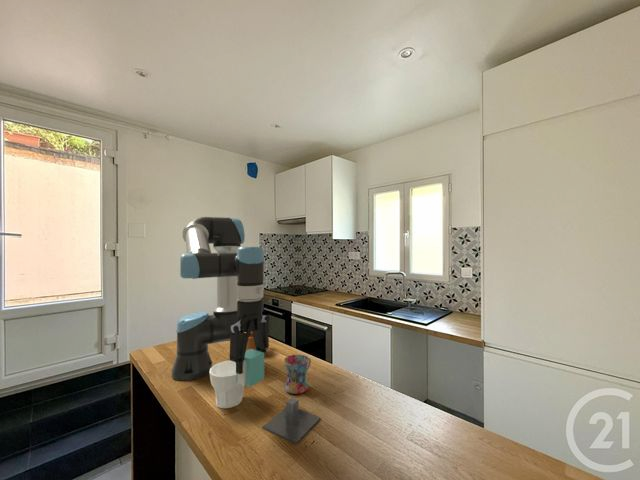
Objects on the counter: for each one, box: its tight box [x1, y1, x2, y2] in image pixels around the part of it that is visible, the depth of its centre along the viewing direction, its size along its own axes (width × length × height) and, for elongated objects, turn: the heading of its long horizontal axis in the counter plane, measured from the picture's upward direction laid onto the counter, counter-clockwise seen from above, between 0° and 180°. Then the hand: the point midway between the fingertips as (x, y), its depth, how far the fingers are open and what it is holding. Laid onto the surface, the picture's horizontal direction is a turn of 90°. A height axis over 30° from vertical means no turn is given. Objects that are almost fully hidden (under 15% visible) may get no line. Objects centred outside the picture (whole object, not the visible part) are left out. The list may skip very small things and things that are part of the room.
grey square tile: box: [262, 397, 321, 446], centre depth 78 cm, size 12×12×6 cm
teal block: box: [236, 349, 265, 388], centre depth 78 cm, size 6×6×8 cm
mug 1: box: [246, 332, 265, 351], centre depth 130 cm, size 9×12×9 cm
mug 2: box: [283, 354, 312, 395], centre depth 97 cm, size 12×9×11 cm
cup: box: [208, 359, 245, 409], centre depth 89 cm, size 12×12×11 cm
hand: (250, 379), depth 78 cm, fingers closed on teal block, 6 cm apart
